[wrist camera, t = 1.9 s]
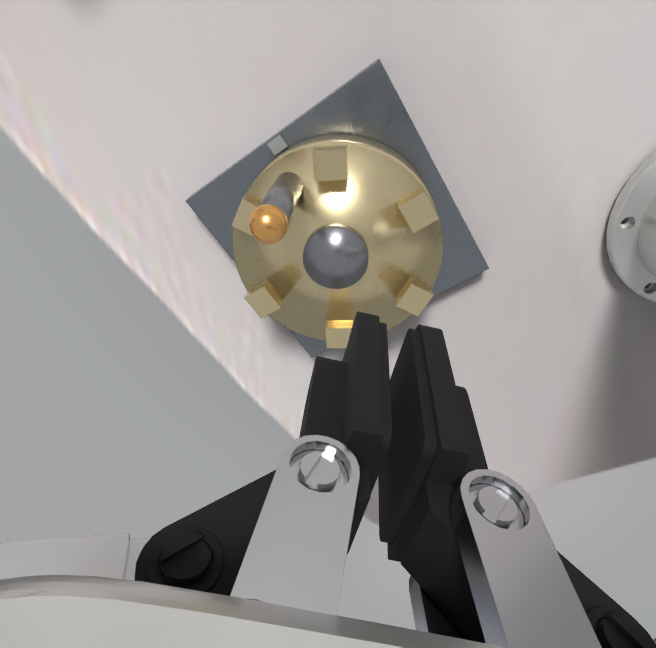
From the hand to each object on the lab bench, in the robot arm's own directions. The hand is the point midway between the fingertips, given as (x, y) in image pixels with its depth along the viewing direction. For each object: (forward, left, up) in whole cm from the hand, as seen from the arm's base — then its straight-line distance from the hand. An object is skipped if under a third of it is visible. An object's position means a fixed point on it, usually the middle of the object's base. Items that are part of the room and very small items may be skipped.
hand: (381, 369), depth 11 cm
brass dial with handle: (-2, +4, -20) cm, 21 cm away
